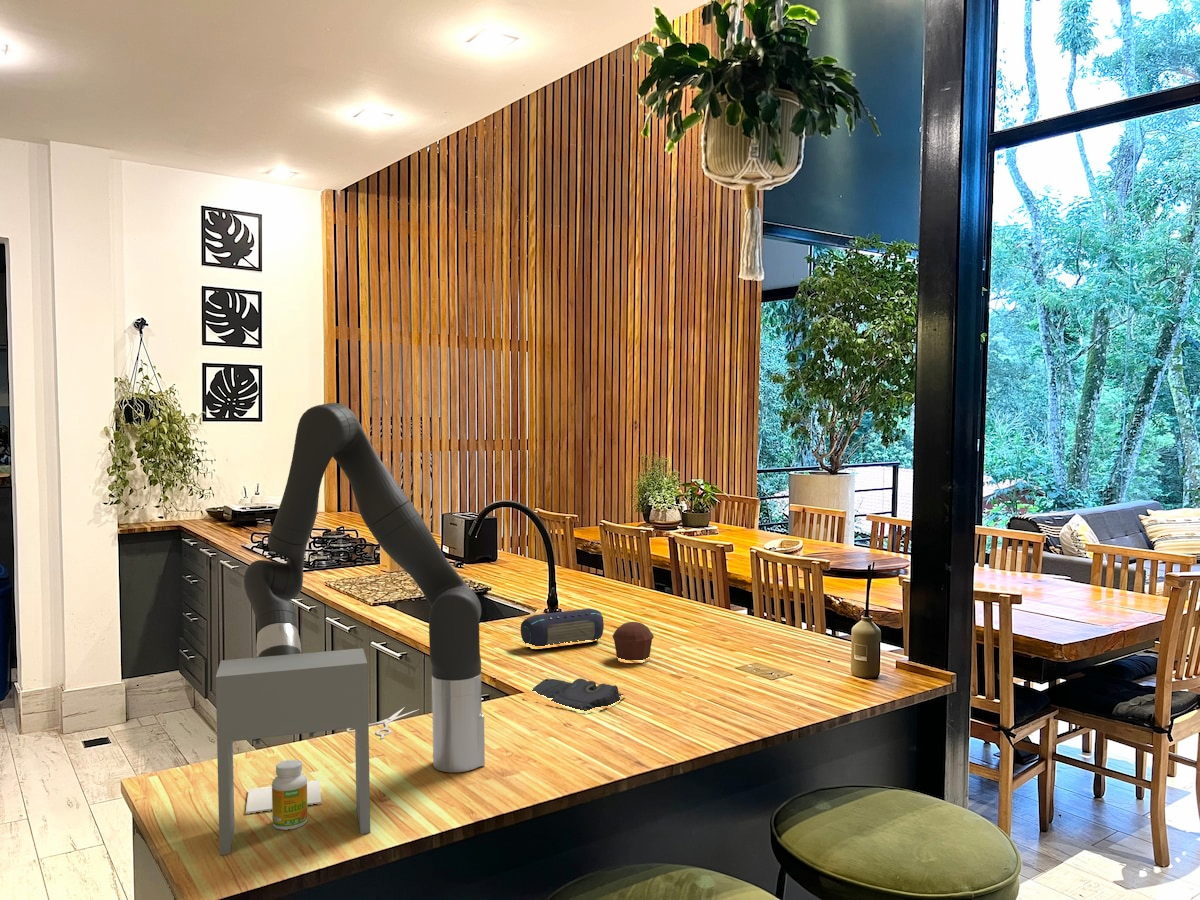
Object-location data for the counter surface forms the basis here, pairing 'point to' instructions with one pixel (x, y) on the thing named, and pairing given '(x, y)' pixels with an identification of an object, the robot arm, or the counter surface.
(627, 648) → the muffin
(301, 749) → the counter surface
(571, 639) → the portable speaker
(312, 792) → the white flat rectangular board
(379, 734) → the scissors
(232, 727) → the grey rectangular arch
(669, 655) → the counter surface
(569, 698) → the crumpled dark grey cloth
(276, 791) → the supplement bottle
